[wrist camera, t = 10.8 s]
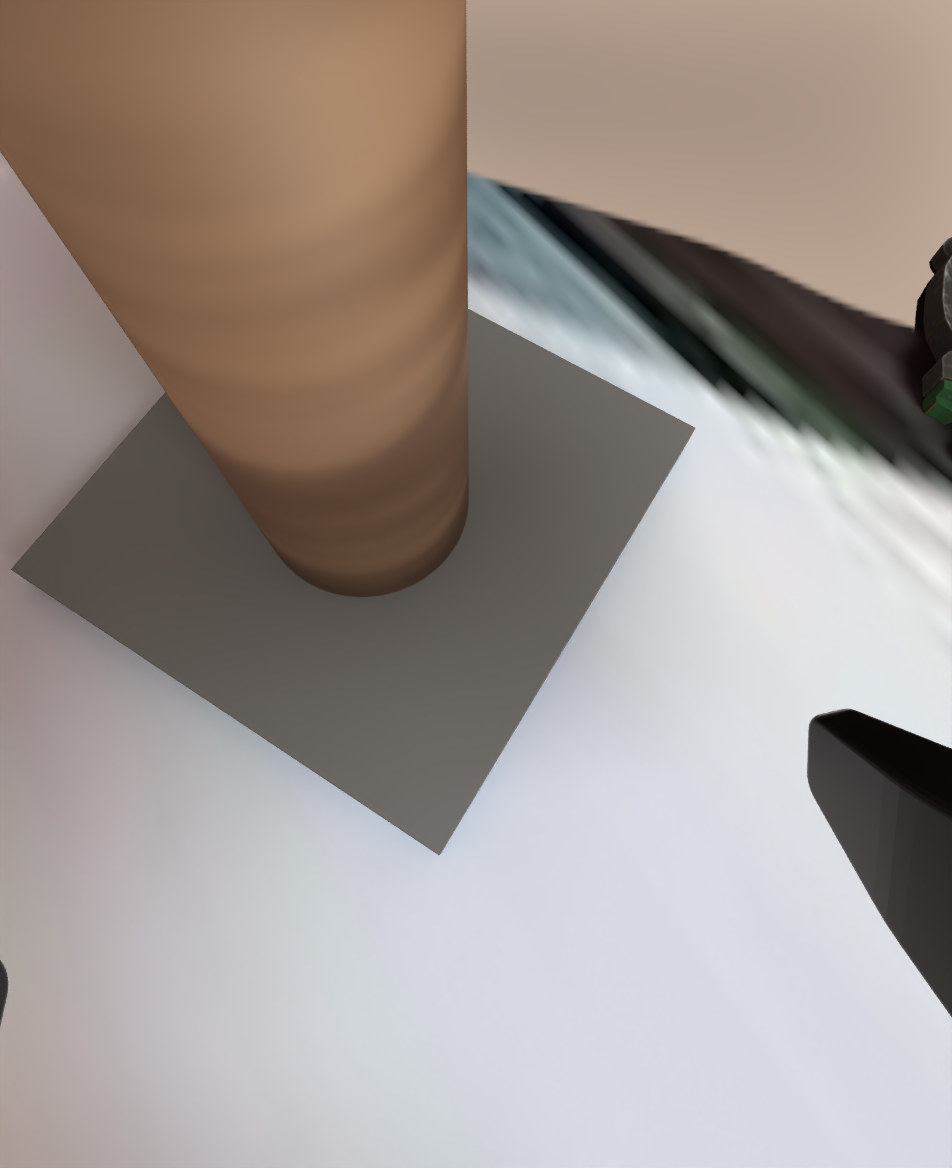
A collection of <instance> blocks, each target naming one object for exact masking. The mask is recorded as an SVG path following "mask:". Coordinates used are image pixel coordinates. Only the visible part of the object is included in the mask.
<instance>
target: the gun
mask: <svg viewBox="0 0 952 1168" xmlns="http://www.w3.org/2000/svg"><path fill="white" fill-rule="evenodd" d="M929 265H930V269H931V271H932V272H933V274H934V276H933V277H932V278H931V280H930V281H929V282H928V283H927V285H926V287H925V288H924V290H923V292H922V293H921V295H920V297H919V298H918V300H917V307H916V316H915V328H919V329H922V330H924V332H925V339H926V341H927V343H928V346H929V348H930V350H931V352H932V354H933V356H934V358H935V360H936V362H937V363H936V364H935V365H934V366H933V367H932V368H931V369H930V370H929V371H928V372H927V373H926V374H925V375H924V376H923V377H922V394H923V397H925V399H924V400H923V407H922V409H923V412H924V414H926V415H928V416H930V417H932V418H934V419H936V420H937V421H939V422H941V423H942V424H944V425H947V424H951V423H952V237H951V238H949V239H948V240H947V241H946V242H945V243H944V244H943V245H942V246H941V247H940V249H939V250H938V251H937V252H936V254H935V255H934V256H933V257H932V259H931V260H930V261H929Z"/></svg>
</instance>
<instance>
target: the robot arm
mask: <svg viewBox="0 0 952 1168" xmlns="http://www.w3.org/2000/svg"><path fill="white" fill-rule="evenodd" d="M807 777H808V783H809V786H810V789H811V792H812V794H813V796H814V798H815V800H816V802H817V804H818V805H819V807H820V809H821V811H822V812H823V814H824V816H825V818H826V820H827V821H828V823H829V825H830V827H831V828H832V830H833V832H834V834H835V835H836V837H837V839H838V841H839V843H840V844H841V846H842V848H843V850H844V851H845V853H846V855H847V857H848V858H849V860H850V862H851V864H852V866H853V867H854V869H855V871H856V873H857V874H858V876H859V878H860V880H861V881H862V883H863V885H864V887H865V889H866V890H867V892H868V894H869V896H870V897H871V899H872V901H873V903H874V904H875V906H876V908H877V909H878V911H879V913H880V914H881V916H882V918H883V919H884V921H885V923H886V924H887V926H888V927H889V929H890V930H891V932H892V933H893V935H894V936H895V938H896V939H897V941H898V942H899V943H900V945H901V946H902V948H903V949H904V951H905V952H906V953H907V955H908V956H909V958H910V959H911V961H912V962H913V963H914V965H915V966H916V968H917V969H918V970H919V972H920V973H921V975H922V976H923V977H924V979H925V980H926V982H927V983H928V985H929V986H930V987H931V989H932V990H933V992H934V993H935V994H936V996H937V997H938V999H939V1000H940V1002H941V1003H942V1004H943V1006H944V1007H945V1009H946V1010H947V1011H948V1013H949V1014H950V1016H951V1017H952V749H951V748H949V747H946V746H944V745H941V744H939V743H936V742H934V741H931V740H929V739H926V738H924V737H921V736H919V735H916V734H914V733H911V732H909V731H906V730H904V729H901V728H899V727H896V726H894V725H891V724H889V723H886V722H884V721H881V720H878V719H876V718H873V717H871V716H868V715H866V714H863V713H861V712H858V711H856V710H852V709H841V710H837V711H832V712H828V713H824V714H820V715H817V716H815V717H814V718H812V720H811V722H810V724H809V732H808V763H807ZM7 993H8V977H7V972H6V969H5V967H4V965H3V963H2V962H1V960H0V1025H1V1021H2V1016H3V1012H4V1007H5V1003H6V998H7Z"/></svg>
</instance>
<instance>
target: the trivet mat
mask: <svg viewBox="0 0 952 1168" xmlns="http://www.w3.org/2000/svg"><path fill="white" fill-rule="evenodd" d="M694 430H695V428H694V427H693V426H691V425H689V424H687V423H685V422H683V421H681V420H679V419H677V418H675V417H673V416H672V415H670V414H668V413H666V412H664V411H662V410H660V409H658V408H656V407H654V406H652V405H651V404H649V403H647V402H645V401H643V400H641V399H639V398H637V397H635V396H633V395H631V394H630V393H628V392H626V391H624V390H622V389H620V388H618V387H616V386H614V385H612V384H610V383H609V382H607V381H605V380H603V379H601V378H599V377H597V376H595V375H593V374H591V373H589V372H588V371H586V370H584V369H582V368H580V367H578V366H576V365H574V364H572V363H570V362H568V361H567V360H565V359H563V358H561V357H559V356H557V355H555V354H553V353H551V352H549V351H547V350H546V349H544V348H542V347H540V346H538V345H536V344H534V343H532V342H530V341H528V340H527V339H525V338H523V337H521V336H519V335H517V334H515V333H513V332H511V331H509V330H507V329H506V328H504V327H502V326H500V325H498V324H496V323H494V322H492V321H490V320H488V319H486V318H485V317H483V316H481V315H479V314H477V313H475V312H473V311H471V310H469V309H468V456H469V505H468V514H467V518H466V522H465V526H464V529H463V531H462V534H461V536H460V539H459V540H458V542H457V544H456V546H455V547H454V549H453V551H452V552H451V553H450V555H449V556H448V557H447V558H446V560H445V561H444V562H443V563H442V564H441V565H440V566H439V567H438V568H437V569H436V570H435V571H433V572H432V573H431V574H429V575H428V576H427V577H425V578H424V579H422V580H421V581H419V582H417V583H415V584H414V585H412V586H409V587H407V588H405V589H402V590H400V591H397V592H393V593H390V594H386V595H380V596H374V597H352V596H343V595H339V594H334V593H330V592H327V591H325V590H322V589H319V588H317V587H315V586H313V585H311V584H309V583H307V582H306V581H304V580H303V579H302V578H300V577H299V576H297V575H296V574H295V573H294V572H293V571H292V570H291V569H290V568H288V567H287V566H286V564H285V563H284V562H283V561H282V559H281V558H280V557H279V556H278V554H277V553H276V551H275V550H274V548H273V547H272V545H271V544H270V543H269V541H268V540H267V538H266V537H265V535H264V534H263V532H262V531H261V529H260V528H259V527H258V525H257V524H256V522H255V521H254V519H253V518H252V516H251V515H250V513H249V512H248V511H247V509H246V508H245V506H244V505H243V503H242V502H241V500H240V499H239V498H238V496H237V495H236V493H235V492H234V490H233V489H232V487H231V486H230V484H229V483H228V482H227V480H226V479H225V477H224V476H223V474H222V473H221V471H220V470H219V468H218V467H217V466H216V464H215V463H214V461H213V460H212V458H211V457H210V455H209V454H208V452H207V451H206V450H205V448H204V447H203V445H202V444H201V442H200V441H199V439H198V438H197V436H196V435H195V434H194V432H193V431H192V429H191V428H190V426H189V425H188V423H187V422H186V420H185V419H184V418H183V416H182V415H181V413H180V412H179V410H178V409H177V407H176V406H175V404H174V403H173V402H172V400H171V399H170V397H169V396H168V394H167V393H166V392H165V394H164V395H163V396H162V397H161V398H160V399H159V400H158V402H157V403H156V404H155V405H154V406H153V407H152V408H151V410H150V411H149V412H148V413H147V414H146V415H145V416H144V418H143V419H142V420H141V421H140V422H139V423H138V424H137V426H136V427H135V428H134V429H133V430H132V431H131V433H130V434H129V435H128V436H127V437H126V438H125V439H124V441H123V442H122V443H121V444H120V445H119V446H118V447H117V449H116V450H115V451H114V452H113V453H112V454H111V455H110V457H109V458H108V459H107V460H106V461H105V462H104V463H103V465H102V466H101V467H100V468H99V469H98V470H97V471H96V473H95V474H94V475H93V476H92V477H91V478H90V480H89V481H88V482H87V483H86V484H85V485H84V486H83V488H82V489H81V490H80V491H79V492H78V493H77V494H76V496H75V497H74V498H73V499H72V500H71V501H70V502H69V504H68V505H67V506H66V507H65V508H64V509H63V510H62V512H61V513H60V514H59V515H58V516H57V517H56V519H55V520H54V521H53V522H52V523H51V524H50V525H49V527H48V528H47V529H46V530H45V531H44V532H43V533H42V535H41V536H40V537H39V538H38V539H37V540H36V541H35V543H34V544H33V545H32V546H31V547H30V548H29V549H28V551H27V552H26V553H25V554H24V555H23V556H22V557H21V559H20V560H19V561H18V562H17V563H16V564H15V566H14V567H13V568H12V569H11V570H12V571H14V572H15V573H17V574H18V575H20V576H21V577H23V578H24V579H26V580H27V581H29V582H30V583H32V584H33V585H35V586H36V587H38V588H39V589H41V590H42V591H44V592H45V593H47V594H48V595H50V596H51V597H53V598H54V599H56V600H57V601H59V602H60V603H62V604H63V605H65V606H66V607H68V608H69V609H71V610H72V611H74V612H75V613H77V614H78V615H80V616H81V617H83V618H84V619H86V620H87V621H89V622H90V623H92V624H93V625H95V626H96V627H98V628H99V629H101V630H102V631H104V632H105V633H107V634H108V635H110V636H111V637H113V638H114V639H116V640H117V641H119V642H120V643H122V644H123V645H125V646H126V647H128V648H129V649H131V650H132V651H134V652H135V653H137V654H138V655H140V656H141V657H143V658H144V659H146V660H147V661H149V662H150V663H152V664H153V665H155V666H156V667H158V668H159V669H161V670H162V671H164V672H165V673H167V674H168V675H170V676H171V677H173V678H174V679H176V680H177V681H179V682H180V683H182V684H183V685H185V686H186V687H188V688H189V689H191V690H192V691H194V692H195V693H197V694H198V695H200V696H201V697H203V698H204V699H206V700H207V701H209V702H210V703H212V704H213V705H215V706H216V707H218V708H219V709H221V710H222V711H224V712H225V713H227V714H228V715H230V716H231V717H233V718H234V719H236V720H237V721H239V722H240V723H242V724H243V725H245V726H246V727H248V728H249V729H251V730H252V731H254V732H255V733H257V734H258V735H260V736H261V737H263V738H264V739H266V740H267V741H269V742H270V743H272V744H273V745H275V746H276V747H278V748H279V749H281V750H282V751H284V752H285V753H287V754H288V755H290V756H291V757H293V758H294V759H296V760H297V761H299V762H300V763H302V764H303V765H305V766H306V767H308V768H309V769H311V770H312V771H314V772H315V773H317V774H318V775H320V776H321V777H323V778H324V779H326V780H327V781H329V782H330V783H332V784H333V785H335V786H336V787H338V788H339V789H341V790H342V791H344V792H345V793H347V794H348V795H350V796H351V797H353V798H354V799H356V800H357V801H359V802H360V803H362V804H363V805H364V806H366V807H367V808H369V809H370V810H372V811H373V812H375V813H376V814H378V815H379V816H381V817H382V818H384V819H385V820H387V821H388V822H390V823H391V824H393V825H394V826H396V827H397V828H399V829H400V830H402V831H403V832H405V833H406V834H408V835H409V836H411V837H412V838H414V839H415V840H417V841H418V842H420V843H421V844H423V845H424V846H426V847H427V848H429V849H430V850H432V851H433V852H435V853H436V854H438V855H440V854H441V852H442V851H443V849H444V847H445V846H446V844H447V842H448V841H449V839H450V837H451V836H452V834H453V832H454V831H455V829H456V827H457V826H458V824H459V822H460V821H461V819H462V817H463V816H464V814H465V812H466V811H467V809H468V807H469V806H470V804H471V802H472V801H473V799H474V797H475V796H476V794H477V792H478V791H479V789H480V787H481V786H482V784H483V782H484V781H485V779H486V777H487V776H488V774H489V772H490V771H491V769H492V767H493V766H494V764H495V762H496V761H497V759H498V757H499V756H500V754H501V752H502V751H503V749H504V747H505V746H506V744H507V742H508V741H509V739H510V737H511V736H512V734H513V732H514V731H515V729H516V727H517V726H518V724H519V722H520V721H521V719H522V717H523V716H524V714H525V712H526V711H527V709H528V707H529V706H530V704H531V702H532V701H533V699H534V697H535V696H536V694H537V692H538V691H539V689H540V687H541V686H542V684H543V682H544V681H545V679H546V677H547V676H548V674H549V672H550V671H551V669H552V667H553V666H554V664H555V662H556V661H557V659H558V657H559V656H560V654H561V652H562V651H563V649H564V647H565V646H566V644H567V642H568V641H569V639H570V637H571V636H572V634H573V632H574V631H575V629H576V627H577V626H578V624H579V622H580V621H581V619H582V617H583V616H584V614H585V612H586V611H587V609H588V607H589V606H590V604H591V602H592V601H593V599H594V597H595V596H596V594H597V592H598V591H599V589H600V587H601V586H602V584H603V582H604V581H605V579H606V577H607V576H608V574H609V572H610V571H611V569H612V567H613V566H614V564H615V562H616V561H617V559H618V557H619V556H620V554H621V552H622V551H623V549H624V547H625V546H626V544H627V542H628V541H629V539H630V537H631V536H632V534H633V532H634V531H635V529H636V527H637V526H638V524H639V522H640V521H641V519H642V517H643V516H644V514H645V512H646V511H647V509H648V507H649V506H650V504H651V502H652V501H653V499H654V497H655V496H656V494H657V492H658V491H659V489H660V487H661V486H662V484H663V482H664V481H665V479H666V477H667V476H668V474H669V472H670V471H671V469H672V467H673V466H674V464H675V462H676V461H677V459H678V457H679V456H680V454H681V452H682V451H683V449H684V447H685V446H686V444H687V442H688V441H689V439H690V437H691V435H692V433H693V431H694Z"/></svg>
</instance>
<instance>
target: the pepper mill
mask: <svg viewBox="0 0 952 1168" xmlns="http://www.w3.org/2000/svg"><path fill="white" fill-rule="evenodd" d="M466 84H467V83H466V0H0V152H1V153H2V154H3V156H4V157H5V159H6V160H7V162H8V163H9V165H10V166H11V168H12V169H13V170H14V172H15V173H16V175H17V176H18V178H19V179H20V181H21V182H22V184H23V185H24V186H25V188H26V189H27V191H28V192H29V194H30V195H31V197H32V198H33V199H34V201H35V202H36V204H37V205H38V207H39V208H40V210H41V211H42V213H43V214H44V215H45V217H46V218H47V220H48V221H49V223H50V224H51V226H52V227H53V229H54V230H55V231H56V233H57V234H58V236H59V237H60V239H61V240H62V242H63V243H64V245H65V246H66V247H67V249H68V250H69V252H70V253H71V255H72V256H73V258H74V259H75V261H76V262H77V263H78V265H79V266H80V268H81V269H82V271H83V272H84V274H85V275H86V277H87V278H88V279H89V281H90V282H91V284H92V285H93V287H94V288H95V290H96V291H97V293H98V294H99V295H100V297H101V298H102V300H103V301H104V303H105V304H106V306H107V307H108V309H109V310H110V311H111V313H112V314H113V316H114V317H115V319H116V320H117V322H118V323H119V325H120V326H121V327H122V329H123V330H124V332H125V333H126V335H127V336H128V338H129V339H130V341H131V342H132V343H133V345H134V346H135V348H136V349H137V351H138V352H139V354H140V355H141V356H142V358H143V359H144V361H145V362H146V364H147V365H148V367H149V368H150V370H151V371H152V372H153V374H154V375H155V377H156V378H157V380H158V381H159V383H160V384H161V386H162V387H163V388H164V390H165V391H166V393H167V394H168V396H169V397H170V399H171V400H172V402H173V403H174V404H175V406H176V407H177V409H178V410H179V412H180V413H181V415H182V416H183V418H184V419H185V420H186V422H187V423H188V425H189V426H190V428H191V429H192V431H193V432H194V434H195V435H196V436H197V438H198V439H199V441H200V442H201V444H202V445H203V447H204V448H205V450H206V451H207V452H208V454H209V455H210V457H211V458H212V460H213V461H214V463H215V464H216V466H217V467H218V468H219V470H220V471H221V473H222V474H223V476H224V477H225V479H226V480H227V482H228V483H229V484H230V486H231V487H232V489H233V490H234V492H235V493H236V495H237V496H238V498H239V499H240V500H241V502H242V503H243V505H244V506H245V508H246V509H247V511H248V512H249V513H250V515H251V516H252V518H253V519H254V521H255V522H256V524H257V525H258V527H259V528H260V529H261V531H262V532H263V534H264V535H265V537H266V538H267V540H268V541H269V543H270V544H271V545H272V547H273V548H274V550H275V551H276V553H277V554H278V556H279V557H280V558H281V559H282V561H283V562H284V563H285V564H286V566H287V567H288V568H290V569H291V570H292V571H293V572H294V573H295V574H296V575H297V576H299V577H300V578H302V579H303V580H304V581H306V582H307V583H309V584H311V585H313V586H315V587H317V588H319V589H322V590H325V591H327V592H330V593H334V594H339V595H343V596H352V597H374V596H380V595H386V594H390V593H393V592H397V591H400V590H402V589H405V588H407V587H409V586H412V585H414V584H415V583H417V582H419V581H421V580H422V579H424V578H425V577H427V576H428V575H429V574H431V573H432V572H433V571H435V570H436V569H437V568H438V567H439V566H440V565H441V564H442V563H443V562H444V561H445V560H446V558H447V557H448V556H449V555H450V553H451V552H452V551H453V549H454V547H455V546H456V544H457V542H458V540H459V539H460V536H461V534H462V531H463V529H464V526H465V522H466V518H467V514H468V505H469V456H468V269H467V93H466V92H467V85H466Z"/></svg>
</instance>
